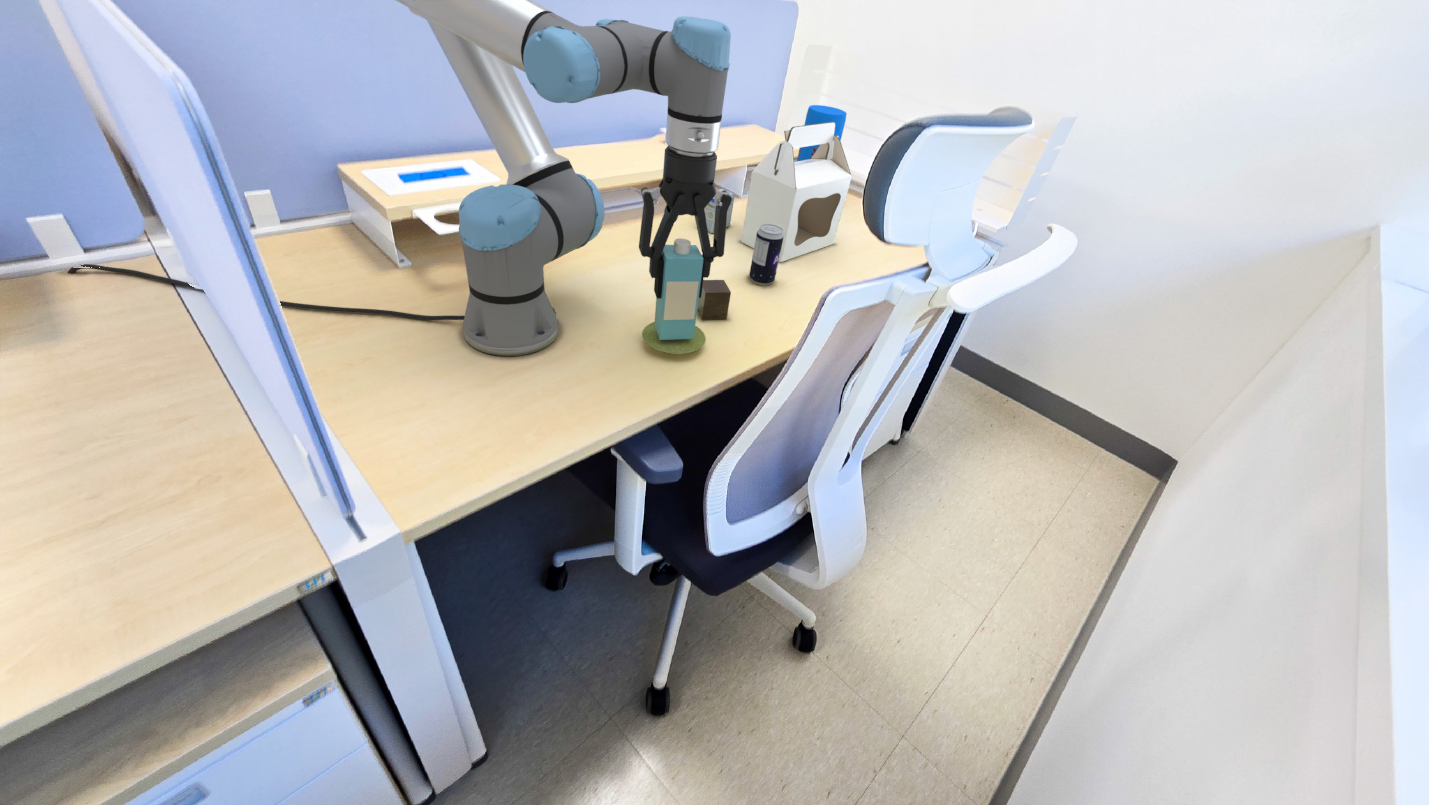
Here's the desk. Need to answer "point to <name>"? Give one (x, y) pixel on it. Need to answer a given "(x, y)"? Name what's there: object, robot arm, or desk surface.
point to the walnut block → (714, 300)
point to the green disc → (673, 341)
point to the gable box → (799, 191)
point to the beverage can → (766, 254)
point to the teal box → (679, 291)
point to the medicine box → (711, 213)
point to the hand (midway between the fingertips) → (677, 293)
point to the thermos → (822, 115)
